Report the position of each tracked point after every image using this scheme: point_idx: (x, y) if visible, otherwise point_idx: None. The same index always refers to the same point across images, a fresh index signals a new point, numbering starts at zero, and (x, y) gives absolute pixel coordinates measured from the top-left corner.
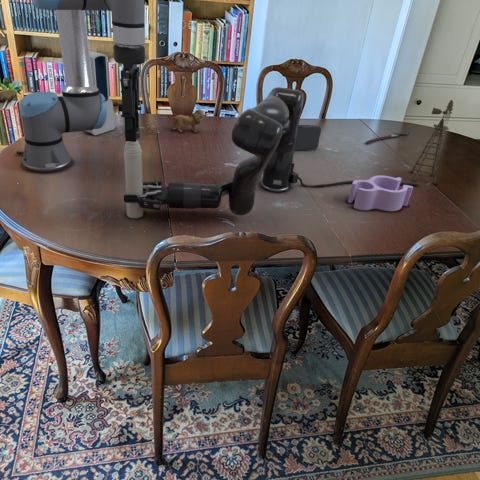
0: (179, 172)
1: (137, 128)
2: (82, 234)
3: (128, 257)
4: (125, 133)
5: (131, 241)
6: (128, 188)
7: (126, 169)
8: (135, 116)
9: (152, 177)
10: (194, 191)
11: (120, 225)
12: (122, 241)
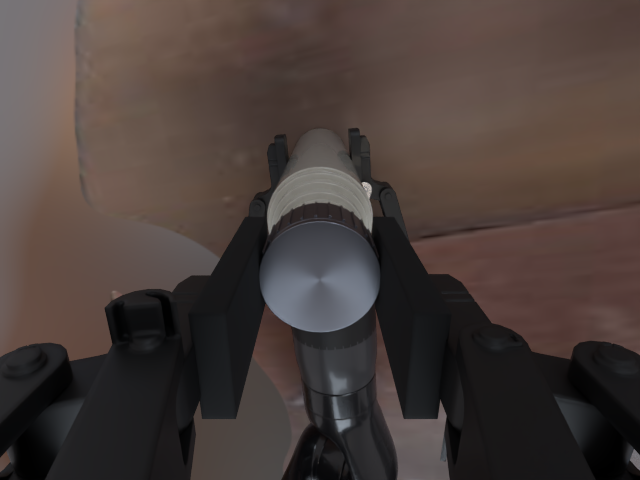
0: (623, 258)
1: (355, 313)
2: (167, 7)
3: (89, 175)
4: (234, 239)
5: (166, 170)
6: (289, 158)
7: (286, 167)
8: (397, 357)
9: (589, 173)
10: (308, 374)
11: (245, 121)
12: (160, 145)
